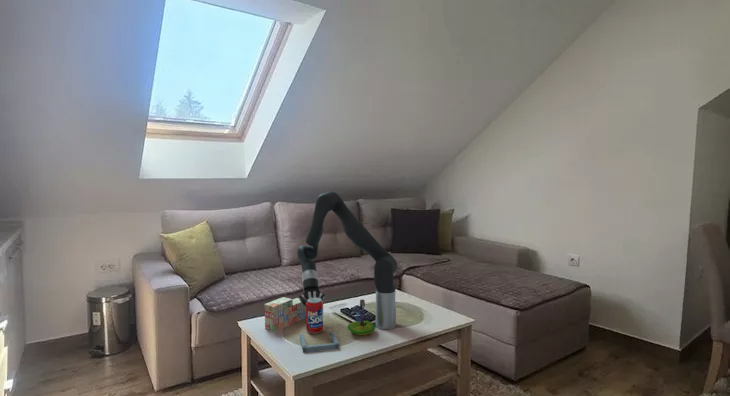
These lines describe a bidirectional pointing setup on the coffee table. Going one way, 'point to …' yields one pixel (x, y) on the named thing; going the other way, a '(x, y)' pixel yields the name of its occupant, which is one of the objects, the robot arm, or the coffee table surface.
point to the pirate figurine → (361, 323)
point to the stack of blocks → (283, 313)
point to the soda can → (314, 315)
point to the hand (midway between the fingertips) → (313, 313)
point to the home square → (322, 346)
